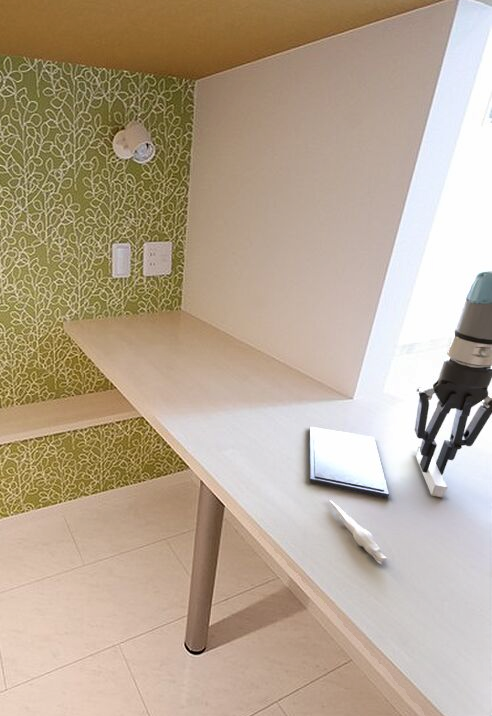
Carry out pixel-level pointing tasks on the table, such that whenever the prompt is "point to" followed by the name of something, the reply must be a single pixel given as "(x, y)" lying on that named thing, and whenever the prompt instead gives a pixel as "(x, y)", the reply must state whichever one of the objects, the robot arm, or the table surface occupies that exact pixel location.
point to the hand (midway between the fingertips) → (430, 469)
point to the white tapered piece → (360, 535)
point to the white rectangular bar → (433, 477)
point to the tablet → (346, 462)
